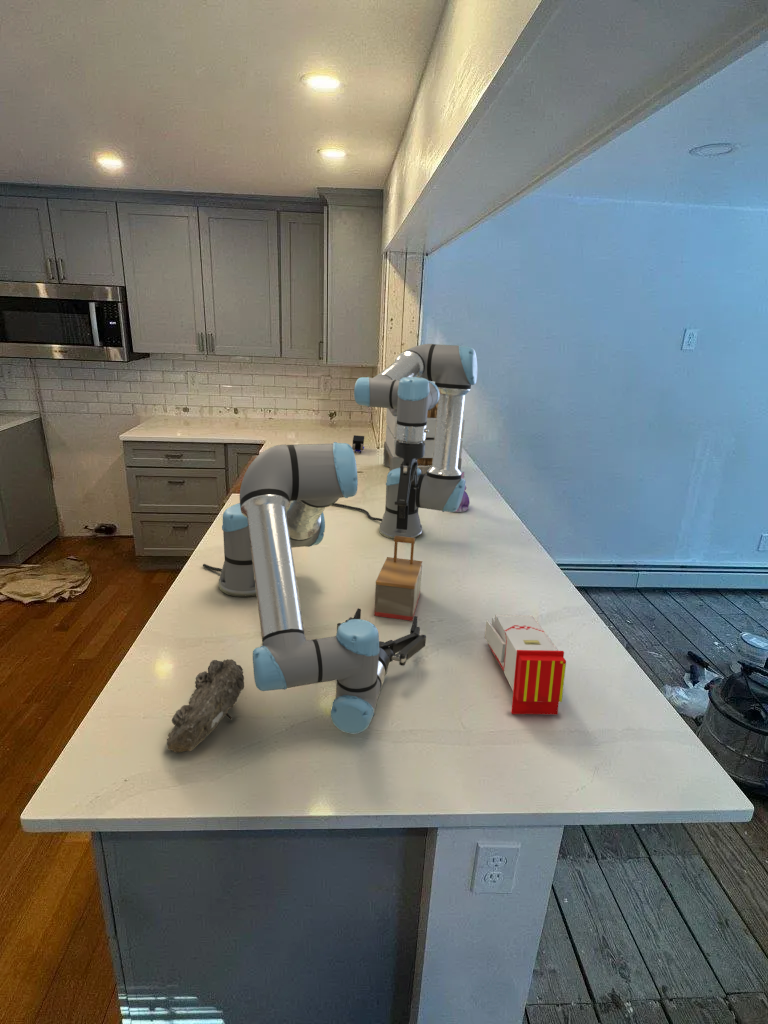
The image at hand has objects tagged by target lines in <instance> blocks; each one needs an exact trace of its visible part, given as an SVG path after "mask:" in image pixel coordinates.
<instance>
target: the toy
mask: <svg viewBox="0 0 768 1024" xmlns="http://www.w3.org/2000/svg"><path fill="white" fill-rule="evenodd" d="M494 615H495V616H494V617H491V622H490V620H485V621H486V622H485V630H484V640H485V641H486V642H487V646H488V647H489V649H490V651H491V652H492V654H493V656H494V657H495V659H496V661H497V663H498V665H499V667H500V668H501V670H502V671H503V674H504V676H505V678H506V680H507V682H508V684H509V686H510V689H511V690H512V701H511V712H510V713H511V714H512V715H556V716H558V715H559V714H558V713H559V705H560V703H562V702H563V695H564V694H563V693H564V686H565V685H564V683H565V677H566V676H565V675H566V667H567V666H566V665H567V660H566V658H564V656H565V651H564V650H559V649H558V648H557V646H556V645H555V644H554V642H553V641H552V640H551V638H550V637H549V636H548V634H547V633H546V631H544V629H543V628H542V626H541V625H540V623H539V622H538V620H536V618H535V617H534V615H531V614H530V615H527V614H526V615H523V614H519V615H518V614H494Z"/></svg>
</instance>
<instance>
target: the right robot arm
mask: <svg viewBox="0 0 768 1024" xmlns="http://www.w3.org/2000/svg"><path fill="white" fill-rule="evenodd" d="M477 357H478V356H477V353H476V350H475V348H474V347H471V346H466V345H461V344H459V345H455V344H440V343H439V344H438V343H437V344H436V343H435V344H434V343H423V344H419V345H415V346H412V347H410V348H407V349H406V350H403V351H402V352H400V353H399V354H397V356H396V357H395V360H394V362H392V363H391V364H390V365H389V366H387V367H386V368H384V369H383V370H382V371H381V372H379V373H378V374H376V375H375V376H374V377H369V376H366V377H359V378H357V380H356V381H355V384H354V388H353V389H354V390H353V391H354V392H353V396H354V397H353V398H354V401H355V403H356V404H357V405H359V406H363V407H364V406H365V407H368V408H370V407H371V408H382V409H387V408H392V409H397V423H396V439H397V441H396V445H395V454H396V456H398V457H401V458H403V459H404V461H402V464H401V466H400V468H396V469H393V470H391V471H390V470H389V472H388V473H387V475H386V482H385V504H384V505H385V507H384V508H385V509H384V513H383V515H382V518H380V517H373V516H371V515H370V513H369V511H367V510H366V509H365V508H361V507H358V506H357V507H356V506H352V505H348V504H342V503H338V502H337V503H336V502H335V503H334V504H333V505H332V506H336V507H341V508H345V509H350V510H354V511H360V512H362V513H364V514H366V516H367V518H368V519H370V520H372V521H378V522H379V526H378V533H379V534H380V535H381V536H382V537H385V538H387V539H389V540H394V536H403V537H412V538H415V539H418V538H420V537H421V536H422V535H423V525H422V524H421V518H420V515H419V509H425V510H433V511H439V512H440V511H441V513H444V512H447V513H456V512H455V511H456V510H457V509H458V508H459V505H460V503H461V500H462V497H463V493H464V489H465V485H466V479H465V478H464V479H463V478H462V479H461V473H462V471H461V472H460V470H459V469H458V458H459V449H460V439H461V440H462V438H461V430H462V420H463V419H464V409H465V401H466V395H467V394H468V393H469V392H470V391H471V389H472V386H474V385H476V384H477V381H478V359H477ZM437 402H438V406H437V417H436V428H435V439H434V449H433V460H432V465H430V466H429V468H427V469H426V474H425V473H422V469H421V468H419V466H418V463H417V459H420V458H422V457H424V455H425V442H423V441H424V440H425V439H426V433H428V432H429V430H428V429H425V428H426V425H427V413H428V410H430V409H432V408H434V406H435V405H436V404H437Z"/></svg>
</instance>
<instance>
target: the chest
mask: <svg viewBox="0 0 768 1024" xmlns="http://www.w3.org/2000/svg"><path fill="white" fill-rule="evenodd" d="M422 570H423V566H422V567H421V570H420V573H419V576H418V580H417V583H416V586H415V589H408V588H400V587H392V586H384V585H376V584H375V589H374V590H375V591H374V614H373V615H374V617H380V618H387V619H396V620H404V621H410V622H413V619H414V616H415V615H416V614H415V613H416V611H417V607H418V603H419V600H420V597H421V596H420V595H421V586H422V574H423V571H422Z"/></svg>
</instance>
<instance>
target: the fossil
mask: <svg viewBox="0 0 768 1024" xmlns="http://www.w3.org/2000/svg"><path fill="white" fill-rule="evenodd" d="M243 670H244V669H243V667H242V665H240V664H237V662H236V661H235V660H234V659H232V658H231V659H227V658H226V659H224V660H223V661H222V660H217V659H212V660H211V661H210V663H209V665H208V666H207V671H201V672H199V673H198V674H197V675H196V676H195V680H194V684H195V685H194V687H195V689H194V690H193V693H192V694H191V697H190V698H189V700H188V704H184V705H182V706H181V707H180V709H177V710H176V711H175V713H174V715H173V716H172V718H171V723H172V724H173V727H172V730H171V731H170V732H168V734H167V738H166V741H167V742H166V745H167V749H168V750H169V751H173V752H174V753H176V754H178V753H182V752H188V751H189V752H192V751H193V750H195V748H196V747H197V746H199V744H200V743H201V742H203V741H204V740H205V739H206V738H207V737H208V736H209V735H210V734H211V733H212V732H214V730H215V729H217V727H218V726H219V724H220V722H221V721H222V720H223V719H224V718H225V716H226V717H227V719H229V720H233V717H232V715H230V714H229V710H230V709H231V708H234V706H235V704H236V703H237V702H238V699H239V697H240V695H241V693H242V691H243V690H245V689H244V688H245V675H244V671H243Z"/></svg>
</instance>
